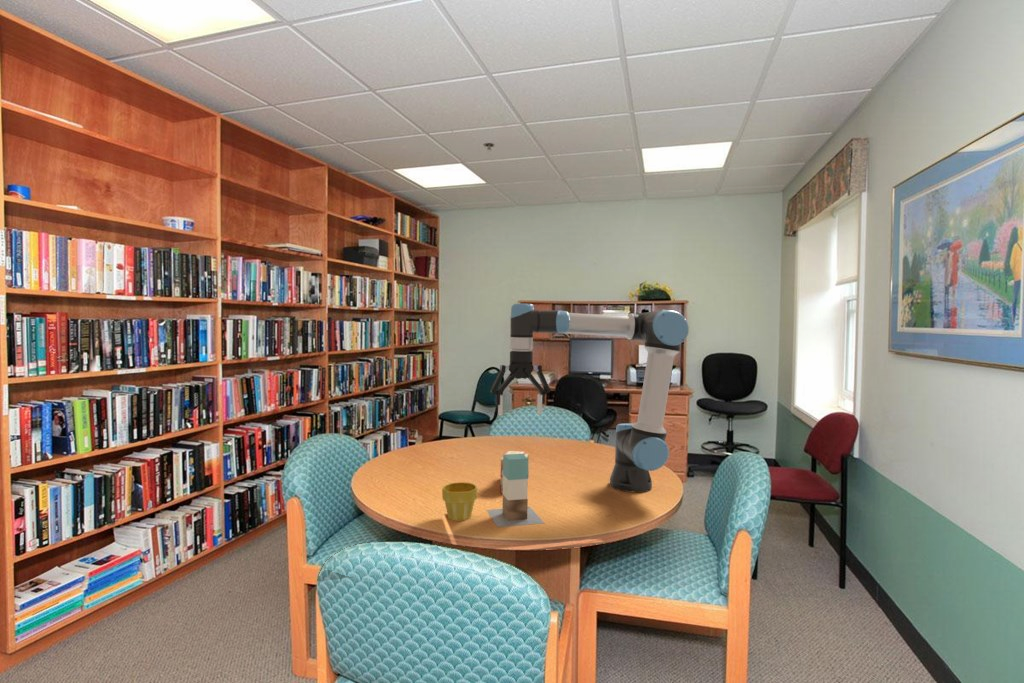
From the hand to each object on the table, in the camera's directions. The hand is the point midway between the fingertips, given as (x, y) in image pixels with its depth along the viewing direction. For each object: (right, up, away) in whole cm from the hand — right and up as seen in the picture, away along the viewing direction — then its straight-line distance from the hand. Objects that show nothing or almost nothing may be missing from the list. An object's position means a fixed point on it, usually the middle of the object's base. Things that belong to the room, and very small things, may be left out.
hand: (520, 414), depth 168 cm
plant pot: (-18, -29, -17) cm, 38 cm away
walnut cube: (-2, -28, -16) cm, 33 cm away
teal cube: (-2, -16, -17) cm, 23 cm away
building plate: (-2, -29, -16) cm, 33 cm away
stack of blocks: (-2, -29, +17) cm, 34 cm away
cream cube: (-2, -22, -16) cm, 28 cm away
